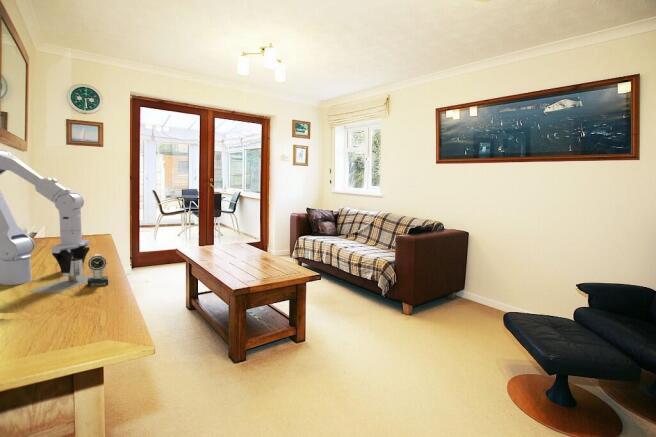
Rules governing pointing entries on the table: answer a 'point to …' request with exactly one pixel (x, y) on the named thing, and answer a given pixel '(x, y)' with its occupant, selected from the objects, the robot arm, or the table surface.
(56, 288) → the board
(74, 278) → the post
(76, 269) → the gray hollow cylinder
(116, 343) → the table surface
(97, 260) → the watch
